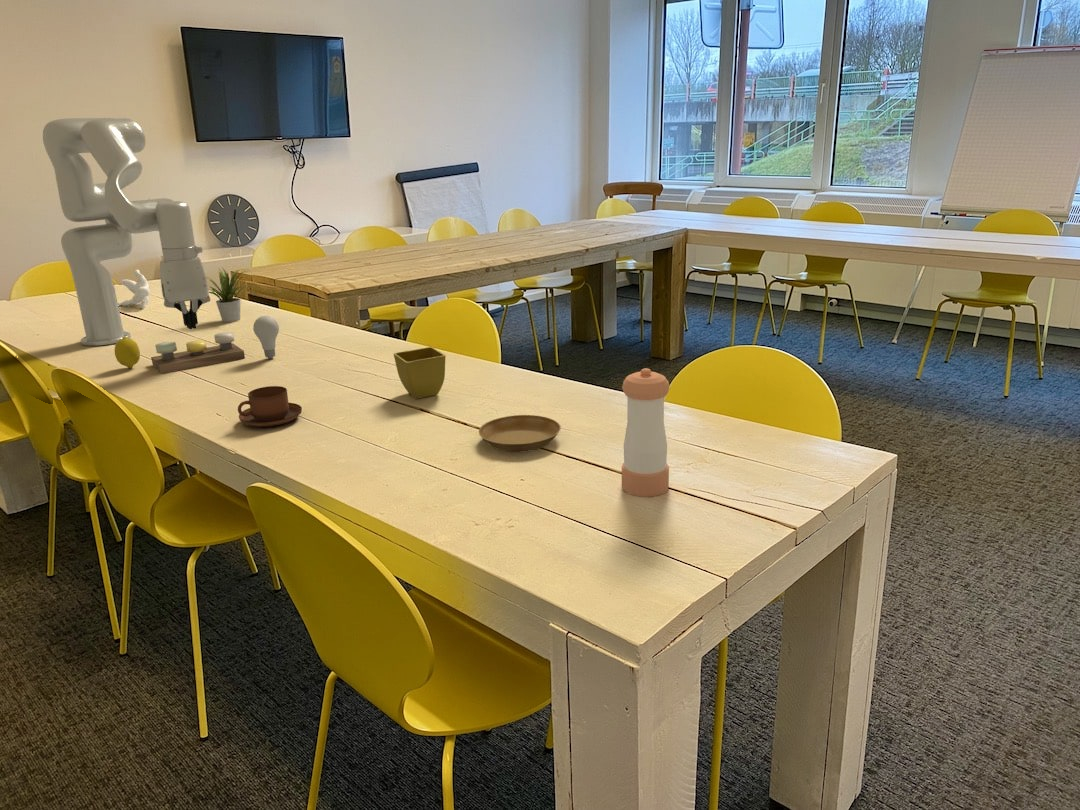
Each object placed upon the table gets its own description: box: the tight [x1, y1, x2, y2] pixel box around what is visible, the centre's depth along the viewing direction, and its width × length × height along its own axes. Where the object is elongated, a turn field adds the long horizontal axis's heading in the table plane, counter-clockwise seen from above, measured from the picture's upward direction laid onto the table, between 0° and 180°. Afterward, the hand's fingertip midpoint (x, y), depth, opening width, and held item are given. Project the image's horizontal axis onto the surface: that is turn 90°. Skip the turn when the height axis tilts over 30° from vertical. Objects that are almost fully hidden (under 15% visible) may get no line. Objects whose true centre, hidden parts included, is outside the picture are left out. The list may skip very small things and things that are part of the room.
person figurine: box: [118, 269, 151, 308], centre depth 278 cm, size 13×13×18 cm
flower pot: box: [393, 346, 447, 399], centre depth 175 cm, size 9×9×9 cm
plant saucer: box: [478, 414, 562, 453], centre depth 148 cm, size 15×15×3 cm
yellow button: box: [185, 340, 207, 356], centre depth 207 cm, size 5×5×4 cm
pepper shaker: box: [621, 367, 671, 498], centre depth 125 cm, size 7×7×19 cm
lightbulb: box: [252, 315, 280, 360], centre depth 206 cm, size 6×6×11 cm
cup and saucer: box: [237, 385, 303, 428], centre depth 163 cm, size 12×12×6 cm
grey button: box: [213, 331, 235, 351], centre depth 211 cm, size 5×5×4 cm
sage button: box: [155, 341, 178, 361], centre depth 203 cm, size 5×5×4 cm
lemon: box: [114, 337, 141, 369], centre depth 203 cm, size 6×6×8 cm
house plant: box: [206, 266, 250, 323], centre depth 249 cm, size 14×14×16 cm
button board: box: [150, 342, 246, 374], centre depth 208 cm, size 10×20×2 cm, turn 125°
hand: (191, 327), depth 206 cm, fingers closed
